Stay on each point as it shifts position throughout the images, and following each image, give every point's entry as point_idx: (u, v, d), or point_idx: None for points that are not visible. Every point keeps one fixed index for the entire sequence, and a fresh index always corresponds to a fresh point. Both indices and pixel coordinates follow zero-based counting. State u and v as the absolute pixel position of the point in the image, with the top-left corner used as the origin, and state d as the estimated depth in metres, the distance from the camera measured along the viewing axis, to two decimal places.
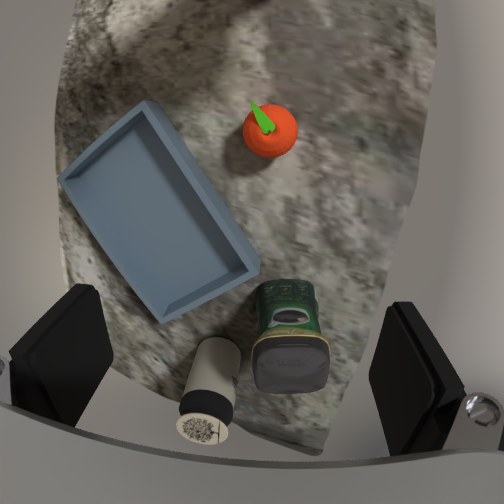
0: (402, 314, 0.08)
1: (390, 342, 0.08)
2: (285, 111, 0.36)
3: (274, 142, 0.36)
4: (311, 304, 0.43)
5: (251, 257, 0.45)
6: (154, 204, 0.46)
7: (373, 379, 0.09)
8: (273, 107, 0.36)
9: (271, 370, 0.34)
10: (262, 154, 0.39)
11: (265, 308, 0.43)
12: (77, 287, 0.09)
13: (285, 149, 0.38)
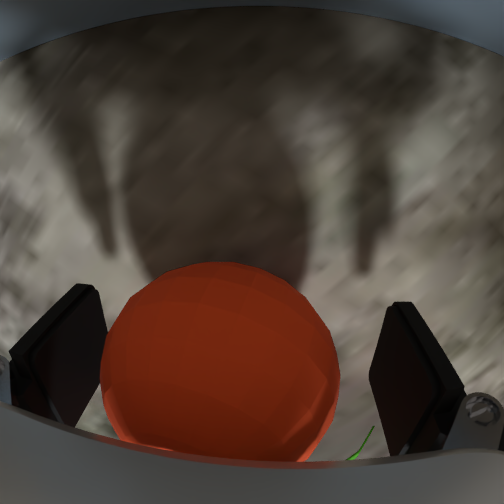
0: (402, 314, 0.08)
1: (390, 342, 0.08)
2: None
3: None
4: None
5: None
6: None
7: (373, 379, 0.09)
8: None
9: None
10: (117, 335, 0.07)
11: None
12: (77, 287, 0.09)
13: None
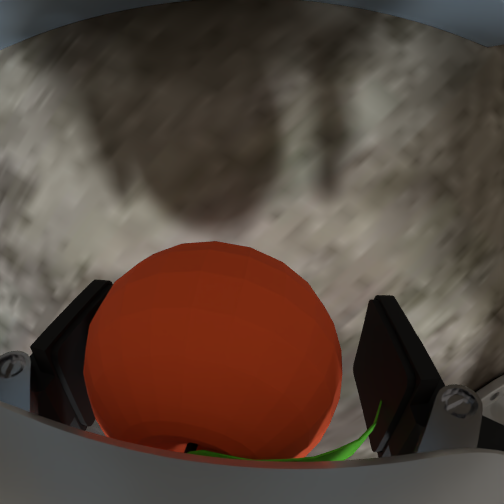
0: (382, 307, 0.09)
1: (371, 335, 0.09)
2: None
3: None
4: None
5: None
6: None
7: (357, 372, 0.10)
8: None
9: None
10: (106, 317, 0.06)
11: None
12: (95, 283, 0.09)
13: None
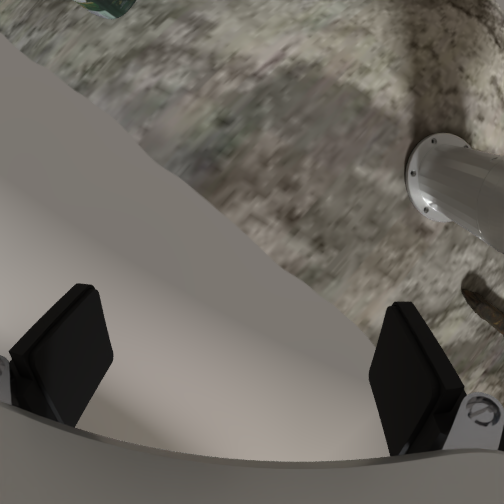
0: (402, 314, 0.08)
1: (390, 342, 0.08)
2: None
3: None
4: None
5: None
6: None
7: (373, 379, 0.09)
8: None
9: None
10: None
11: None
12: (77, 287, 0.09)
13: None
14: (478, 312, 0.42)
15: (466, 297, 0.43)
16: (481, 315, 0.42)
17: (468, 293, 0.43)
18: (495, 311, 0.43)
